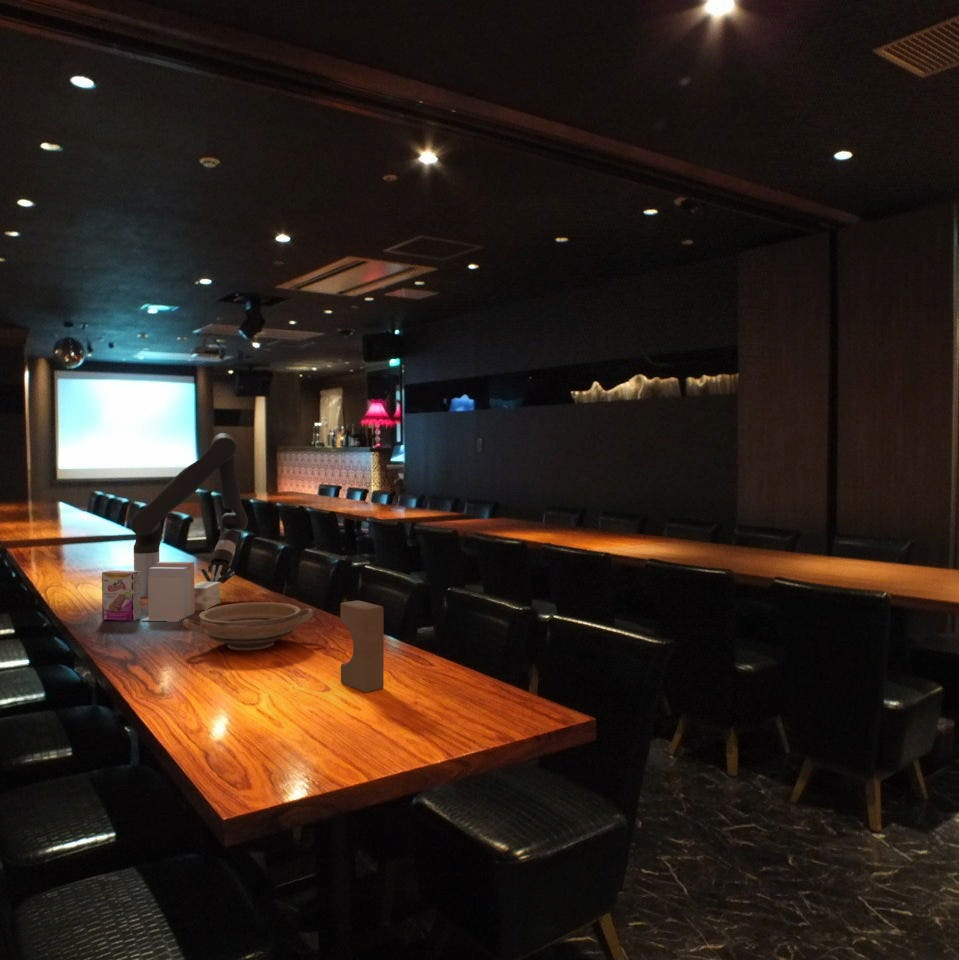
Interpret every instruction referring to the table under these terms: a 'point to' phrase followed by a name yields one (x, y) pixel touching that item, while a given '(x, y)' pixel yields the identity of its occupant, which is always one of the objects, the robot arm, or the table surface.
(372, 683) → the decorative block
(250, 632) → the ceramic bowl
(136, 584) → the candy bar box
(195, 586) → the beige rectangular block
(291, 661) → the table surface
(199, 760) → the table surface
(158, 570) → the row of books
